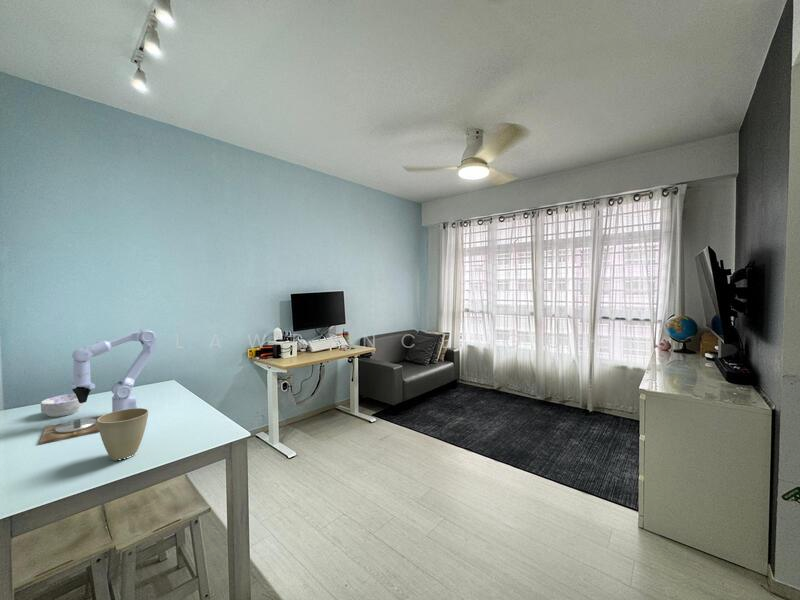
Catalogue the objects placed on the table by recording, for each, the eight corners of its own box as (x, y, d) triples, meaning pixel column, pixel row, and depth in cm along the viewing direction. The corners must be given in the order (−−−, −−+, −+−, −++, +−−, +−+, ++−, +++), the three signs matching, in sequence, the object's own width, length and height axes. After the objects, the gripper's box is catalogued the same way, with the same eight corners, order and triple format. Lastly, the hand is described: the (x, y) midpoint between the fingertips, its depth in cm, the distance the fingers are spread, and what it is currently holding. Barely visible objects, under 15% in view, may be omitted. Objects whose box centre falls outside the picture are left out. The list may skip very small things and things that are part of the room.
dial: (54, 427, 146) (54, 418, 145) (94, 418, 155) (93, 410, 155) (55, 436, 137) (55, 426, 137) (97, 426, 147) (97, 417, 147)
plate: (106, 417, 160) (105, 414, 160) (106, 430, 146) (106, 427, 146) (46, 429, 147) (46, 426, 147) (40, 444, 132) (40, 441, 132)
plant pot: (138, 463, 119) (137, 420, 118) (88, 469, 115) (87, 424, 114) (155, 444, 133) (155, 406, 133) (112, 449, 129) (111, 409, 129)
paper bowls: (45, 422, 155) (45, 405, 154) (37, 415, 163) (36, 399, 162) (88, 412, 167) (88, 396, 167) (78, 406, 175) (78, 391, 175)
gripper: (61, 374, 151) (61, 403, 152) (81, 377, 147) (82, 407, 147) (80, 371, 158) (80, 398, 158) (100, 373, 153) (100, 402, 154)
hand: (82, 402), depth 153 cm, fingers closed
